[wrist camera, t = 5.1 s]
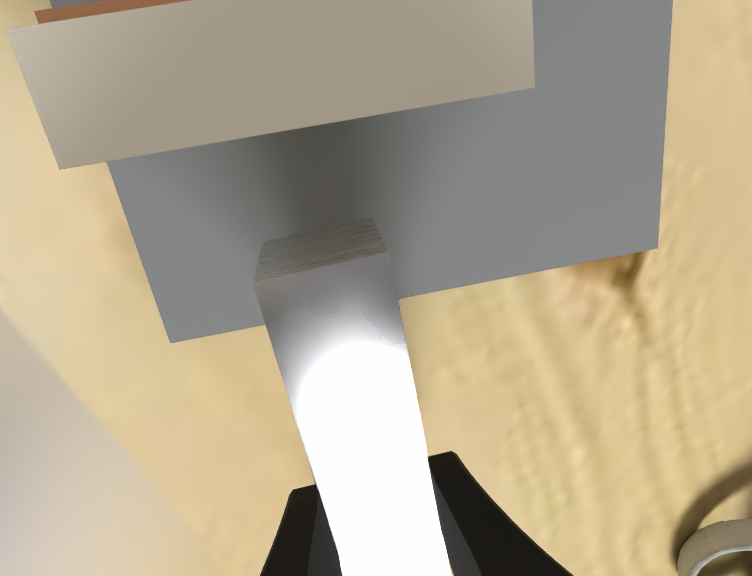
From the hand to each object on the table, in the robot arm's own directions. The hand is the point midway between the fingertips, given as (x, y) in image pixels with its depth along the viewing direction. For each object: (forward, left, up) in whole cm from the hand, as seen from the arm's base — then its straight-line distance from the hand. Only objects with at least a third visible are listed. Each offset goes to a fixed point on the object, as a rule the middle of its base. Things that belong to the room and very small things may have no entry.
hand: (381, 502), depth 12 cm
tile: (0, -9, -6) cm, 11 cm away
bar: (0, 0, -2) cm, 2 cm away
